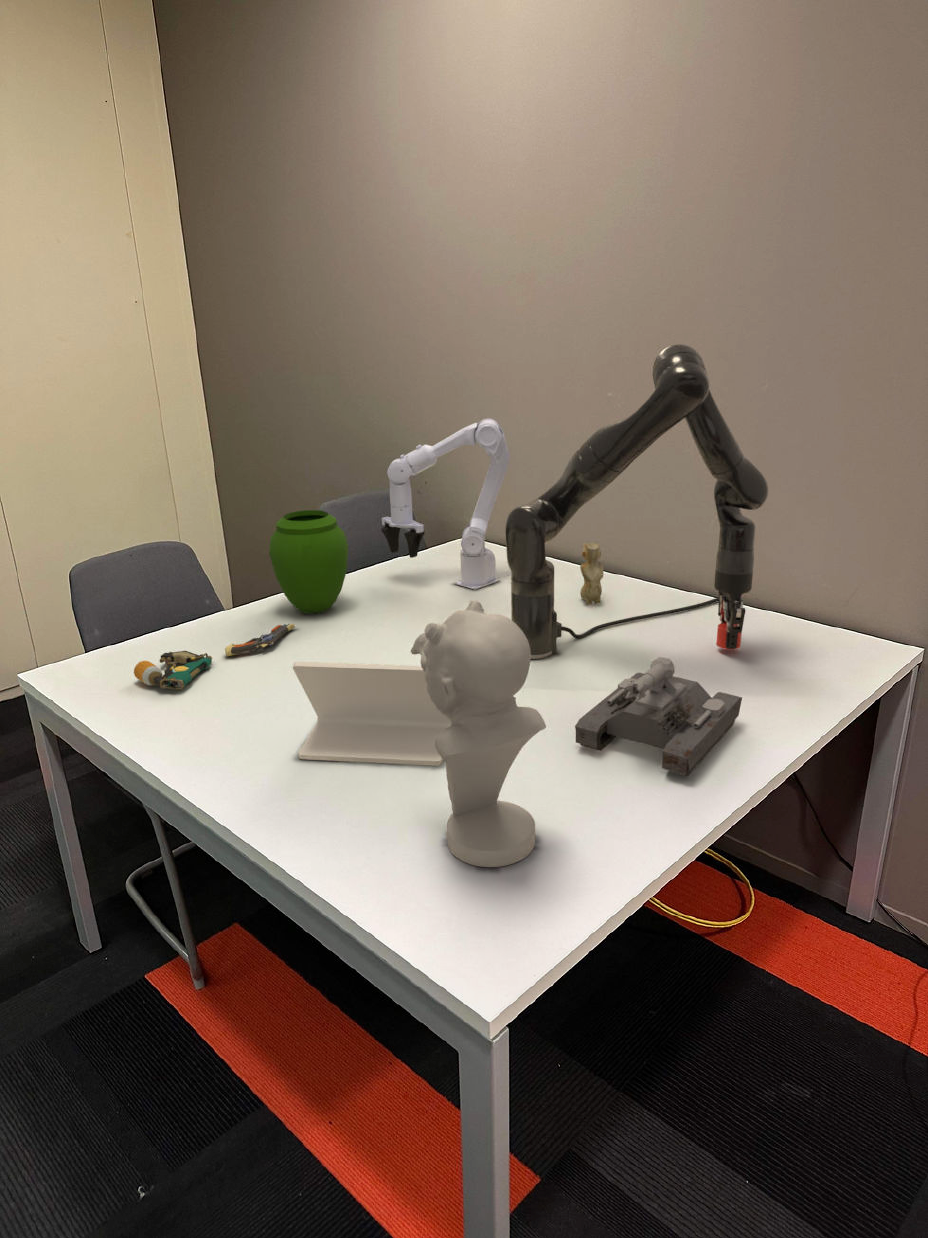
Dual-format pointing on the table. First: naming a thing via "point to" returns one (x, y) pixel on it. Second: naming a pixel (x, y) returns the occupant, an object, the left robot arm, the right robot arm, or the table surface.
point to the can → (722, 636)
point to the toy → (661, 717)
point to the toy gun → (259, 640)
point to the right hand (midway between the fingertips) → (728, 642)
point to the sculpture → (591, 574)
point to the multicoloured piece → (172, 669)
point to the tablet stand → (370, 713)
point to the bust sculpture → (481, 729)
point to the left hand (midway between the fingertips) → (403, 554)
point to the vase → (309, 559)
